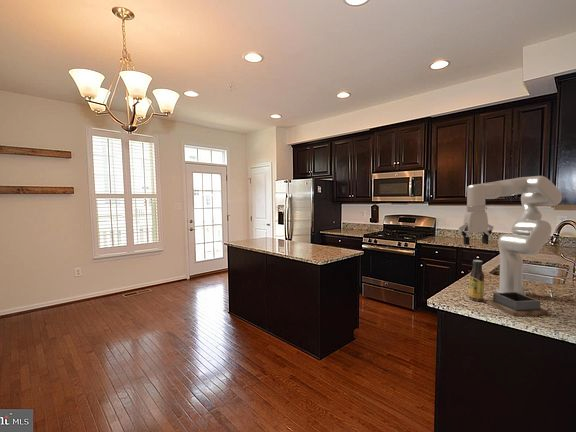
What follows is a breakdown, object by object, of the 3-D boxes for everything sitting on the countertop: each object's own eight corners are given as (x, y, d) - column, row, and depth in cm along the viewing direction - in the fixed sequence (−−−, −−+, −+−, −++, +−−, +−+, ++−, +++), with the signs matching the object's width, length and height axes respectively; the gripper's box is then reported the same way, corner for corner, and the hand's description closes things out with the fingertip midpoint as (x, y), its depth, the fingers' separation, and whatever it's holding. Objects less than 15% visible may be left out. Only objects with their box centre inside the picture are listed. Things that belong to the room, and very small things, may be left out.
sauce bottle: (465, 297, 146) (466, 259, 144) (477, 297, 146) (477, 258, 145) (475, 302, 139) (475, 262, 138) (487, 301, 140) (487, 261, 138)
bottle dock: (517, 301, 138) (517, 290, 138) (547, 314, 123) (548, 301, 123) (486, 303, 137) (486, 292, 137) (513, 316, 122) (513, 303, 122)
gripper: (487, 208, 144) (486, 242, 145) (454, 210, 143) (454, 243, 144) (498, 209, 137) (498, 244, 138) (464, 210, 136) (464, 246, 137)
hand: (475, 244), depth 141 cm, fingers open, 9 cm apart
